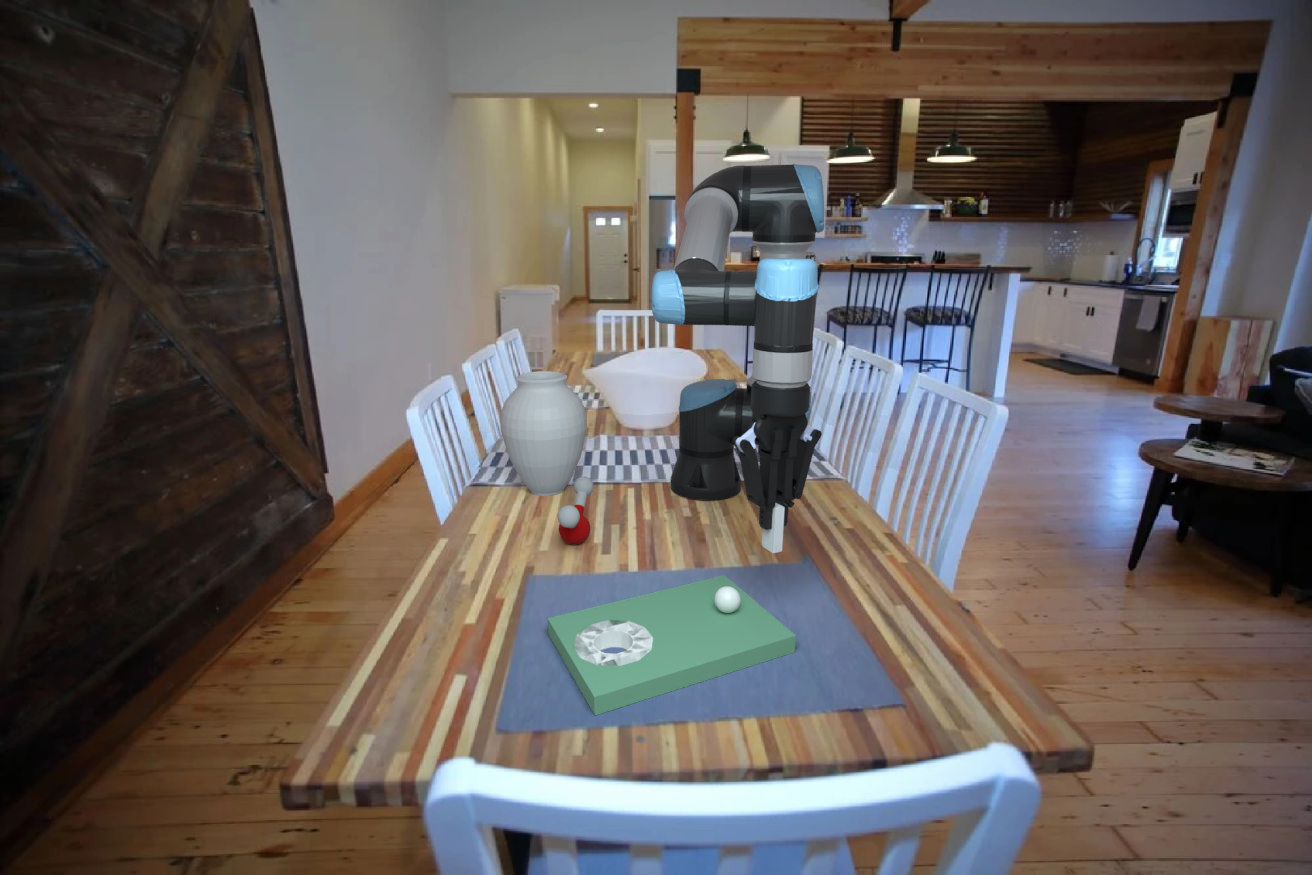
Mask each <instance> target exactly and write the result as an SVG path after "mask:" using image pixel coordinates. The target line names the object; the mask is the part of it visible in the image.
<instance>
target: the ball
mask: <svg viewBox="0 0 1312 875" xmlns="http://www.w3.org/2000/svg"><path fill="white" fill-rule="evenodd" d="M714 601H715V605H716V607H717V608H718V609H719V610H720V611H722V612H724V613H731V612H734V611H735V610H737V608H738V607H739V605H740V601H741V599H740V595H739V593H738V591H737V590H736V589H734V588H733V587H730V586H724V587H722V588H720V589H719V590H718V591H717V592H716V594H715V598H714Z"/></svg>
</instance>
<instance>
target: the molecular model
mask: <svg viewBox="0 0 1312 875" xmlns="http://www.w3.org/2000/svg"><path fill="white" fill-rule="evenodd" d="M594 488H595V486H594V482H593V481H592V479H591V478H590V477H587V476H580V477H578V478H577V479H575V481H574V484H573V490H574V492H575V494H576V497H575V502H574V505H571V504H568V505H564V506H562V507H561V508H560V509H559V510H558V512H557V516H556V518H557V520H558V523H559V525H558V533H559V534H558V535H559V536H560V539H562V540H563V542H565V543H566V544H569V545H575V546H576V545H579V544H580V545H581V544H582V543H584V542H585V541H587V539H588V538H589V536H590V533H591V524H590V521H589V519H588V518H587V516H585V515H584V512H585V506H586V501H587V497H588V496H590V495H591V494H592V493H593V492H594V491H593V490H594Z"/></svg>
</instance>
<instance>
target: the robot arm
mask: <svg viewBox="0 0 1312 875" xmlns="http://www.w3.org/2000/svg"><path fill="white" fill-rule="evenodd" d="M824 196H825V195H824V186H823V177H822V173H821V171H820V169H819V168H818V167H817V166H815V165H811V164H796V163H793V164H766V165H765V164H764V165H763V164H761V165H760V164H759V165H758V164H757V165H734V166H728V167H726V168H725V167H724V168H723V169H720V170H718V171H716V172H714V173H712V174H711V175H709V176H707V177H706V178H705V179H704V180H702V181H701V182H700V183H699V184H697V186H696V187H695V188H694V189H693V190H692V192H690V195H689V196H688V198H687V201H686V204H685V206H684V213H683V214H684V222H685V228H684V231H683V235H682V239H681V243H680V246H679V249H678V252H677V253H678V254H677V256H676V260H675V263H674V267H673V269H672V268H671V269H669V270H660V271H658V272H655V274H654V275H653V278H652V283H651V297H650V298H651V312H652V316H653V319H654V320H655V321H656V322H657V323H659V324H666V325H677V326H687V325H688V326H730V327H731V326H732V327H733V326H735V327H736V326H737V327H739V326H741V327H744V326H745V327H754V328H753V331H754V334H753V335H754V338H753V340H754V341H753V349H752V350H753V351H752V373H751V376H749V378H747V381H746V387H745V388H744V387H741V388H739V387H738V385H737V382H736V380H733V379H730V378H729V379H727V378H726V379H725V378H715V379H713V378H712V379H705V380H700V381H696V382H692V383H690V384H688V385H686V386H684V387H683V388H682V389H681V391H680V394H679V406H678V412H679V434H678V435H679V436H678V438H679V441H678V443H679V444H678V445H679V446H678V455H677V458H676V461H675V464H674V467H673V470H672V473H671V476H670V490H671V491H672V492H673V493H674V494H676V495H678V496H680V497H682V498H687V499H689V500H690V499H691V500H697V501H718V500H725V499H730V498H732V497H734V496H737V495H738V494H739V493H740V492H741V487H742V486H741V485H742V480H741V479H742V478H743V482H744V488H745V494H746V499H747V501H749V502H751V503H752V504H754V505H756V506H757V507H759V514H758V516H759V517H758V519H759V520H758V525H759V527H760V528H762V536H761V537H762V538H761V546H762V547H763V548H765V549H766V550H767V551H769V552H771V553H772V554H777V553H781V552H783V540H784V527H786V526H788V519H789V508H793V507H794V505H795V502H794V500H801V498H802V496H803V492H804V490H805V485H806V482H807V477H808V474H809V471H810V470H809V469H810V467H811V463H812V459H813V455H814V451H815V447H816V446H817V444H818V443H819V441H820V439H821V437H822V431H821V430H819V429H816V428H815V427H812V426H810V425H809V424H808V423H809V421H810V420H809V419H810V413H811V404H812V399H813V398H812V396H813V395H812V392H811V386H810V385H809V383H808V382H809V381H811V380H812V376H813V374H812V373H813V371H812V370H813V357H814V356H813V352H814V343H813V342H814V341H813V340H814V332H815V331H814V330H815V321H816V308H817V306H816V305H817V293H818V291H819V284H818V283H819V281H818V263H817V262H816V261H815V260H814V259H812V258H806V257H807V251H808V250H809V249H810V248H811V247H812V246H813V245H814V244H815V242H816V233H817V234H819V233H823V231H824V230H825V197H824ZM733 232H736V233H739V232H742V233H752V240H751V241H752V244H753V245H754V246H755V247H756V248H757V249H758V251H759V262H758V264H757V267H756V271H729V270H726V271H725V265H726V261H727V260H726V259H727V253H728V252H727V251H728V246H729V240H730V234H731V233H733ZM734 447H735V448H734ZM756 448H757V453H758V454H757V453H756V450H755V449H756ZM734 449H736V451H737V452H738V455H739V462H740V467H741V472H742V476H743V477H742V478H741V475H740V474H741V473H740V471H739V468H738V464H737V462H736V457H735V454H734V452H735V450H734ZM757 455H758V456H759V460H758V456H757Z"/></svg>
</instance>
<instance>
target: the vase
mask: <svg viewBox="0 0 1312 875" xmlns="http://www.w3.org/2000/svg"><path fill="white" fill-rule="evenodd" d="M567 379H568V375H567V374H566V373H565V374H564V373H563V372H558V371H549V370H546V371H545V370H542V371H541V370H539V371H529V372H525V373H524V372H523V373H521V374H520V375H517V376H516V377H515V381H516V382H517V387H516V388H515V389H514V390H513V391H512V392H511V393H510V395H509V396H507V398H506V399H505V401H504V402H503V406H502V408H501V411H500V420H499V422H500V433H501V436H502V439H503V443H504V446H505V449H506V453H507V455H508V458H509V461H510V462H511V464H512V465H513V468H514V470H515V471H516V473H517V475H518V476H519V479H520V480H521V482H523V485H525V487H527V489H529V491H530V492H531V494H533V495H535V496H539V497H551V496H556V495H559V494H562V493H563V492H564V490H565V488H566V487H567V486H568V484H569V483H570V481H571V480H572V477H573V476H574V473H575V471H576V469H577V468H578V467H577V466H578V464H579V462H580V459H581V456H582V453H583V448H584V443H585V440H586V439H585V438H586V432H587V427H588V419H587V418H588V417H587V412H586V408H585V406H584V403H583V401H582V399H581V397H580V396H579V395H577V393H576V392H575V391H573V389H572V388H570V387H569V386H568V385H567V383H566V382H567Z"/></svg>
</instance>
